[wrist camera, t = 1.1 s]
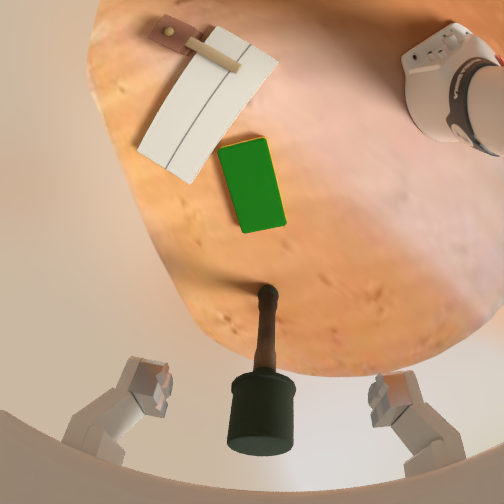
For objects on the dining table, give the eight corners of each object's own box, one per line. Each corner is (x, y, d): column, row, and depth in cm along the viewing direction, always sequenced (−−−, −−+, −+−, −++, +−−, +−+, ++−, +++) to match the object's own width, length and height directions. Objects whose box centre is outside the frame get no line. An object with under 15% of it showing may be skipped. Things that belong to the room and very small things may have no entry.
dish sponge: (266, 135, 39) (265, 137, 37) (286, 219, 46) (287, 225, 44) (219, 146, 41) (216, 149, 39) (243, 227, 47) (242, 234, 45)
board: (219, 28, 31) (217, 25, 29) (278, 63, 33) (278, 61, 32) (142, 148, 41) (136, 150, 39) (193, 180, 43) (189, 184, 42)
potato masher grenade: (238, 299, 55) (214, 449, 29) (256, 265, 51) (239, 429, 25) (278, 314, 56) (275, 461, 31) (299, 282, 52) (310, 442, 26)
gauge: (176, 21, 30) (162, 12, 25) (249, 60, 33) (245, 55, 28) (161, 42, 32) (145, 36, 27) (233, 82, 35) (226, 80, 30)
